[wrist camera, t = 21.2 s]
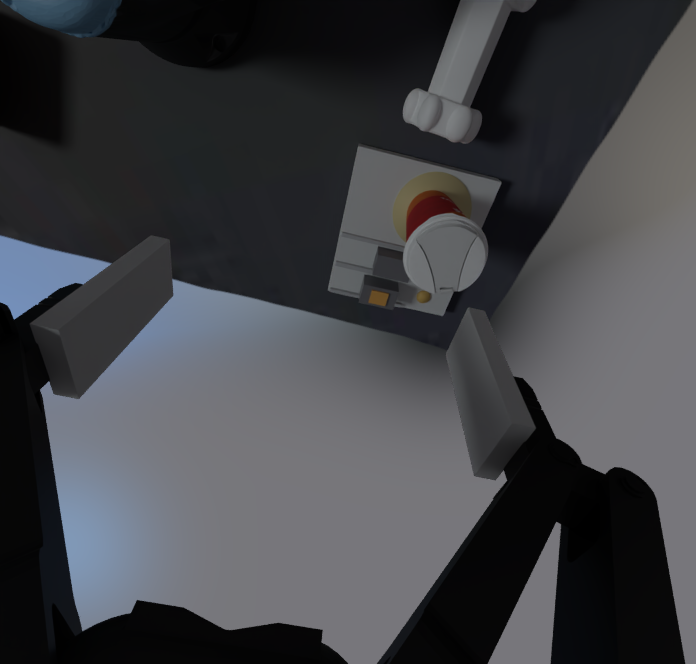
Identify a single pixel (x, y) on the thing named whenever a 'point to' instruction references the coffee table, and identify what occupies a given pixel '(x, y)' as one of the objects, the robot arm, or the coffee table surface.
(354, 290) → the panel
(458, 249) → the coffee cup
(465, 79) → the bone shaped toy
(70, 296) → the robot arm
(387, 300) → the tagged breaker
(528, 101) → the coffee table surface
